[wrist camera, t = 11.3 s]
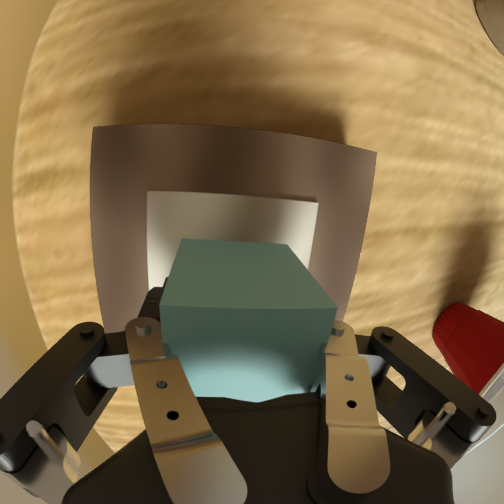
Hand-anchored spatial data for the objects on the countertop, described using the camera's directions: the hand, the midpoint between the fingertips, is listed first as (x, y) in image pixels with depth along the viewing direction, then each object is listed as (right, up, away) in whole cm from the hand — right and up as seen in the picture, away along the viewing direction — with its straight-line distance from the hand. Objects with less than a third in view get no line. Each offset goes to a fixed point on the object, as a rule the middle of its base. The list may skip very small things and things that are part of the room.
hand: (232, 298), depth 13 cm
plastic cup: (+25, -7, +14) cm, 29 cm away
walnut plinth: (-1, +2, +6) cm, 7 cm away
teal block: (0, 0, +1) cm, 1 cm away
